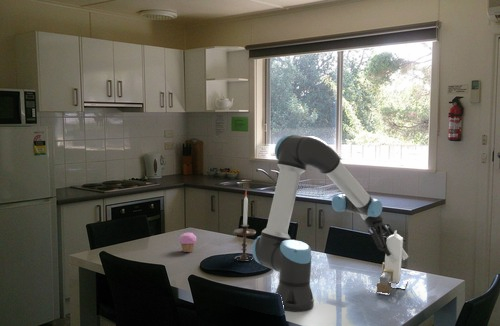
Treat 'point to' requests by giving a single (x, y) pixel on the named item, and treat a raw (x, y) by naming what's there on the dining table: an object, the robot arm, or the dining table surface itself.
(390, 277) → the shaft rig
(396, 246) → the milk
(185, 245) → the cupcake
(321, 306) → the dining table surface
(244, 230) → the candlestick
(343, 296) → the dining table surface
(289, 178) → the robot arm
